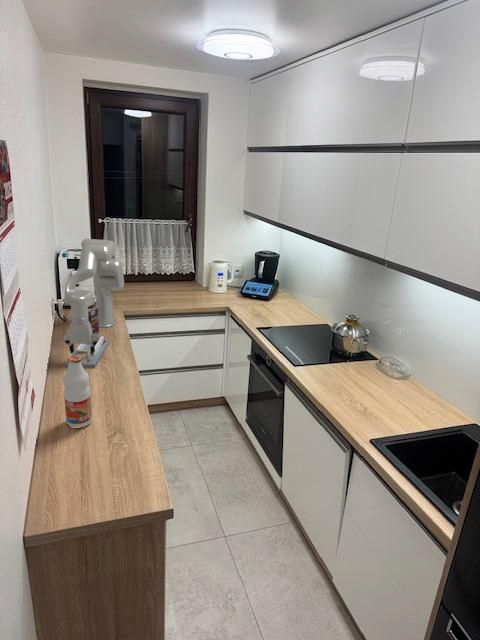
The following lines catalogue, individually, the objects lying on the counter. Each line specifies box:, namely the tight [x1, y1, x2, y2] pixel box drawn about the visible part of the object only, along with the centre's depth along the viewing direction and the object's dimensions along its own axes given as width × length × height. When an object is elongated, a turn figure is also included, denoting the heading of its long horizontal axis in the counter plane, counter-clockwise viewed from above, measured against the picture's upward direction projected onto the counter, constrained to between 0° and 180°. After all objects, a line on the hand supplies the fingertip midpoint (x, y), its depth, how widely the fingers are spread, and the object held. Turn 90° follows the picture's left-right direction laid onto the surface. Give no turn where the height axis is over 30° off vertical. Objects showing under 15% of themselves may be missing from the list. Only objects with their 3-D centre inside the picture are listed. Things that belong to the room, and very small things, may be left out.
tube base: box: [65, 335, 111, 369], centre depth 226 cm, size 31×14×5 cm, turn 3°
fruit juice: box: [62, 355, 93, 427], centre depth 166 cm, size 9×9×28 cm
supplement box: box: [88, 306, 100, 336], centre depth 247 cm, size 9×5×16 cm, turn 168°
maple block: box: [76, 350, 89, 364], centre depth 215 cm, size 6×4×4 cm
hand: (82, 352), depth 215 cm, fingers open, 9 cm apart
